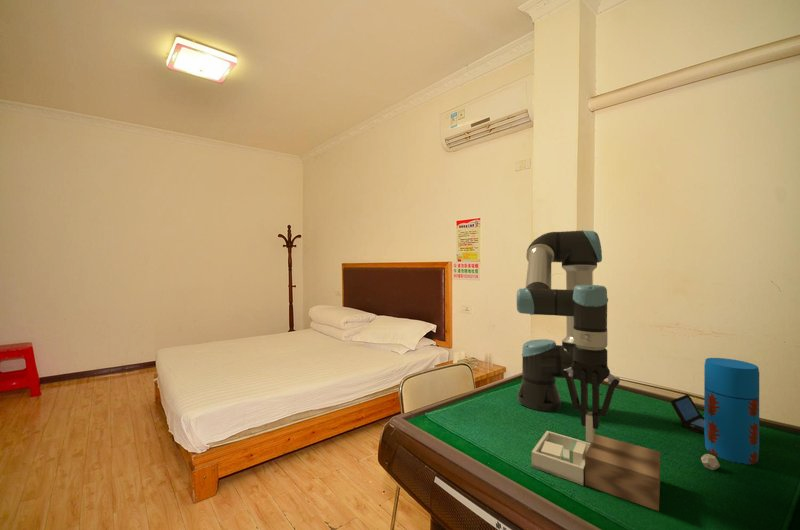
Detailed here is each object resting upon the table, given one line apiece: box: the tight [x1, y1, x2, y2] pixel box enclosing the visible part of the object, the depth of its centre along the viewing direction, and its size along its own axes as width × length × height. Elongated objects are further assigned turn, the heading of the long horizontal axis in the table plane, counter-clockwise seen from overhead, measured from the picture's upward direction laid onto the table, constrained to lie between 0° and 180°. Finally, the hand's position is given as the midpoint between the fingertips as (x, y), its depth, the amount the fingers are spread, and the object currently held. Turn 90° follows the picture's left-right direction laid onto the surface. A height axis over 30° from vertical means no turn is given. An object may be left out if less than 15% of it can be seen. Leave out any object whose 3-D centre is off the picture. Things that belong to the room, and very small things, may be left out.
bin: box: [531, 430, 591, 486], centre depth 90 cm, size 12×14×4 cm
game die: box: [700, 453, 721, 471], centre depth 88 cm, size 4×4×3 cm
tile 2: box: [569, 441, 586, 466], centre depth 88 cm, size 4×6×3 cm
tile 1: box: [541, 441, 563, 460], centre depth 91 cm, size 4×6×3 cm
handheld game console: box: [670, 394, 704, 435], centre depth 111 cm, size 12×11×7 cm
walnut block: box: [584, 433, 661, 512], centre depth 82 cm, size 14×13×7 cm
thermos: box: [703, 357, 760, 465], centre depth 94 cm, size 11×11×25 cm
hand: (590, 439), depth 87 cm, fingers closed
